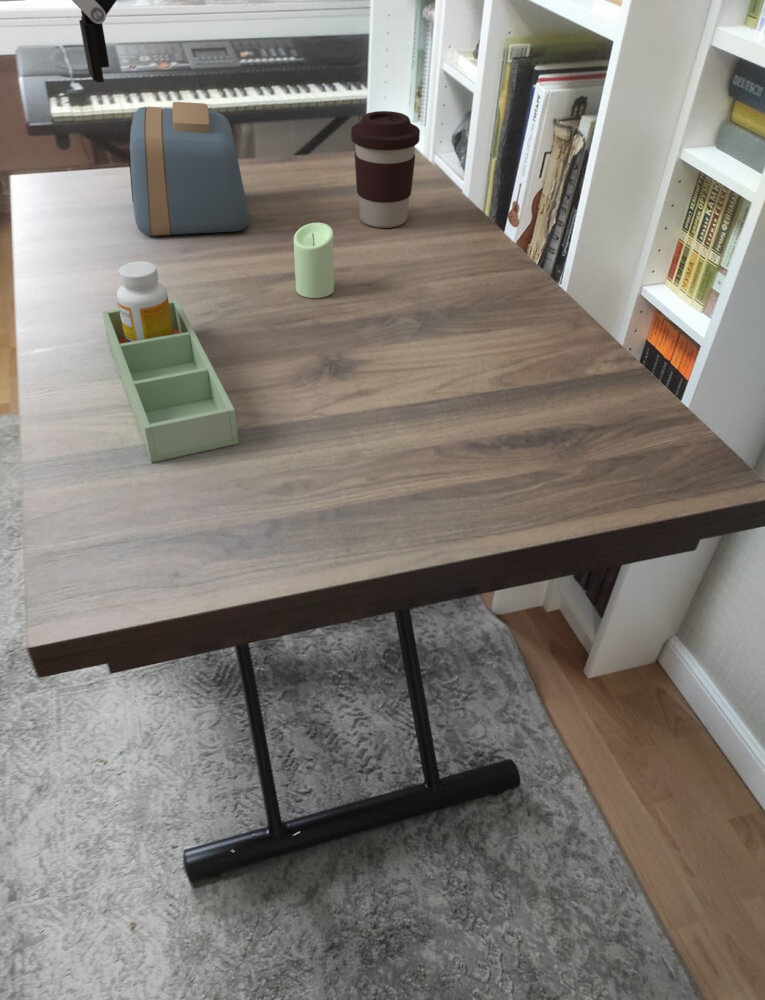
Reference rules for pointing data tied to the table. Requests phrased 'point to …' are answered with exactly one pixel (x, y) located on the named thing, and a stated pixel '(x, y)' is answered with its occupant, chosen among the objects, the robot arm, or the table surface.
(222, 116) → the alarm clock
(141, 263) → the supplement bottle
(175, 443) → the tray
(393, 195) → the coffee cup
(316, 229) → the candle
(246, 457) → the table surface
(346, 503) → the table surface
